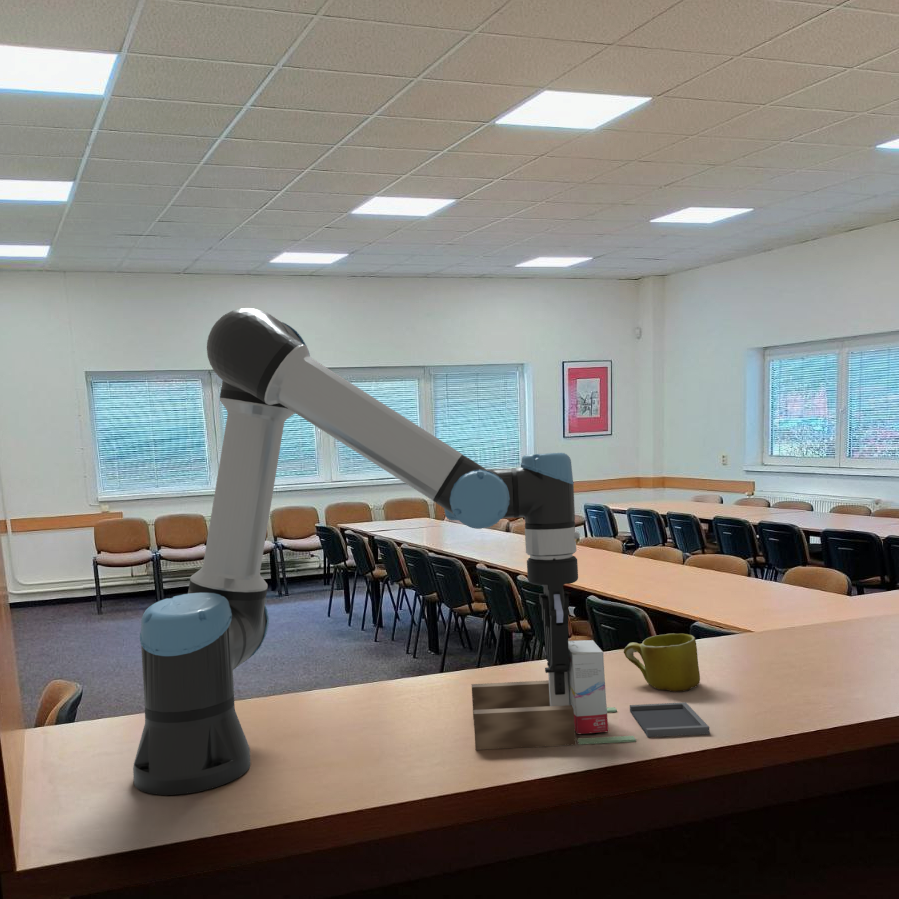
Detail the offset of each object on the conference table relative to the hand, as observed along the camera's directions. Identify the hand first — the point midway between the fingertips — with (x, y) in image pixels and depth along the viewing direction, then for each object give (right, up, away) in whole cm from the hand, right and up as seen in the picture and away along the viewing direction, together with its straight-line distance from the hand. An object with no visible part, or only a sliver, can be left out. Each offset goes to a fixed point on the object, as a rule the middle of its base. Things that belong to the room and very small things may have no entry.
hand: (559, 713), depth 120 cm
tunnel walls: (-6, -2, 0) cm, 6 cm away
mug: (+20, -2, +19) cm, 28 cm away
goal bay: (+6, -2, 0) cm, 6 cm away
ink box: (+4, -2, 0) cm, 4 cm away
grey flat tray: (+16, -1, 0) cm, 16 cm away
